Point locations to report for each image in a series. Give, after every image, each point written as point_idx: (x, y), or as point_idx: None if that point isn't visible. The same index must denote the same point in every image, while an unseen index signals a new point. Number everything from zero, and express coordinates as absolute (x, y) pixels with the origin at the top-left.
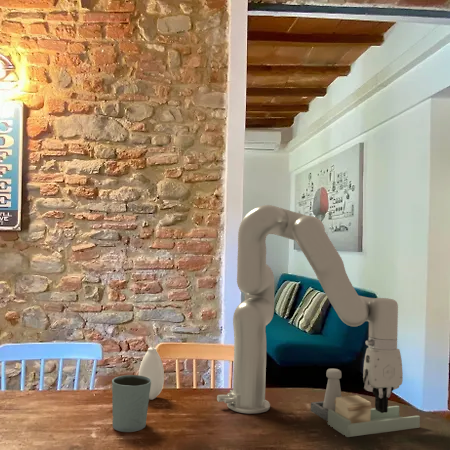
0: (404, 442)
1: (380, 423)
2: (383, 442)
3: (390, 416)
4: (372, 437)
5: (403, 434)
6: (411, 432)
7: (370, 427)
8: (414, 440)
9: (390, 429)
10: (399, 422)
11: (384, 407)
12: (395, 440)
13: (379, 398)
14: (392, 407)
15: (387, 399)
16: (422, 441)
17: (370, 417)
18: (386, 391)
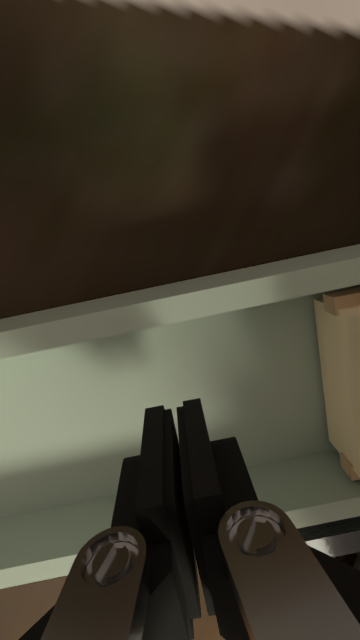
0: (157, 69)
1: (266, 273)
2: (316, 88)
3: (51, 508)
4: (345, 191)
5: (92, 224)
6: (15, 256)
7: (353, 252)
8: (60, 100)
9: (162, 287)
10: (75, 310)
11: (179, 429)
12: (207, 117)
13: (255, 514)
14: (11, 566)
15: (140, 493)
16: (4, 73)
17: (358, 315)
18: (137, 634)
